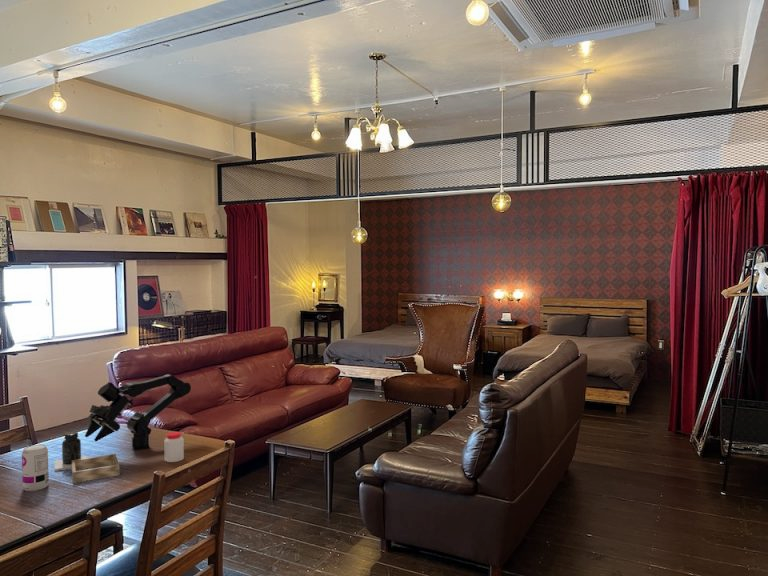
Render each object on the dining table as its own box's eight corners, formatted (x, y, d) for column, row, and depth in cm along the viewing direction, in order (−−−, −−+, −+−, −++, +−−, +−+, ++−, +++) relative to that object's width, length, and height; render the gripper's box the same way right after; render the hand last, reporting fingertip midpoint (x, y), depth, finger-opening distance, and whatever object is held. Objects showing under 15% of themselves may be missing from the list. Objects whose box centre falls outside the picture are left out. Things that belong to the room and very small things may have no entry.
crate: (115, 463, 236) (115, 453, 236) (119, 475, 222) (119, 465, 222) (71, 470, 228) (71, 460, 228) (73, 483, 214) (72, 472, 214)
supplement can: (21, 493, 205) (20, 452, 204) (24, 485, 212) (23, 446, 211) (47, 489, 208) (46, 448, 208) (49, 482, 216) (48, 442, 215)
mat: (86, 458, 243) (86, 455, 243) (88, 466, 233) (88, 463, 233) (54, 462, 237) (54, 460, 237) (54, 471, 227) (54, 469, 227)
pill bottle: (187, 457, 244) (187, 431, 243) (175, 463, 236) (175, 436, 236) (172, 455, 246) (172, 430, 246) (160, 461, 239) (160, 435, 239)
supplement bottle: (84, 461, 236) (83, 432, 235) (66, 466, 230) (66, 436, 230) (76, 458, 240) (76, 430, 240) (59, 462, 235) (58, 433, 234)
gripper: (92, 394, 250) (66, 424, 242) (112, 400, 238) (85, 432, 230) (111, 408, 257) (86, 438, 249) (130, 415, 245) (105, 446, 237)
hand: (90, 438), depth 241 cm, fingers open, 9 cm apart
